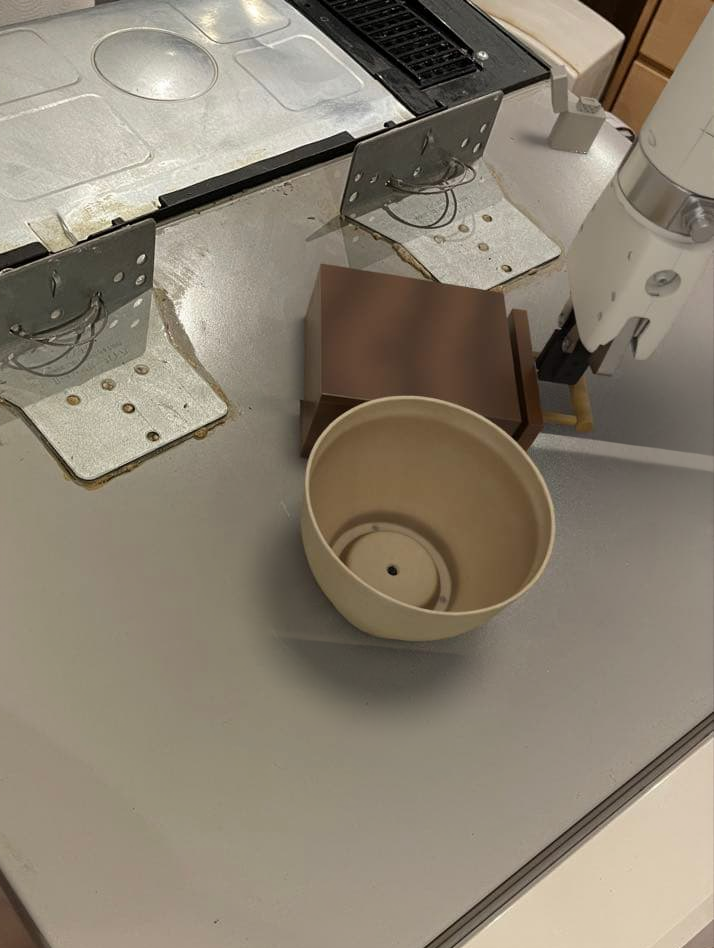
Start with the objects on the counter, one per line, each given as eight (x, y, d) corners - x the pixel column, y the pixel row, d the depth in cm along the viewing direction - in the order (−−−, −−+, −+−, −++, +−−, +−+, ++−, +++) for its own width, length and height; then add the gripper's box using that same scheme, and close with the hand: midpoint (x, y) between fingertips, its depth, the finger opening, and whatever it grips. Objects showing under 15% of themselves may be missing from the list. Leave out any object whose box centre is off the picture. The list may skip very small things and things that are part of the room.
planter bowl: (449, 473, 76) (502, 384, 67) (525, 663, 69) (595, 592, 60) (250, 497, 71) (277, 404, 62) (308, 705, 64) (349, 634, 55)
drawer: (557, 367, 84) (588, 319, 79) (576, 478, 78) (610, 435, 73) (342, 335, 80) (360, 284, 75) (344, 449, 74) (364, 401, 69)
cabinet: (470, 356, 83) (503, 292, 77) (483, 480, 77) (521, 421, 70) (300, 331, 81) (320, 262, 74) (299, 457, 74) (321, 394, 68)
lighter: (584, 143, 102) (621, 73, 96) (587, 154, 101) (624, 85, 95) (520, 132, 101) (552, 61, 94) (522, 143, 100) (555, 72, 93)
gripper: (765, 279, 57) (614, 461, 72) (711, 115, 65) (585, 310, 80) (646, 258, 56) (518, 447, 71) (605, 93, 63) (498, 296, 79)
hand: (554, 374), depth 76 cm, fingers closed
